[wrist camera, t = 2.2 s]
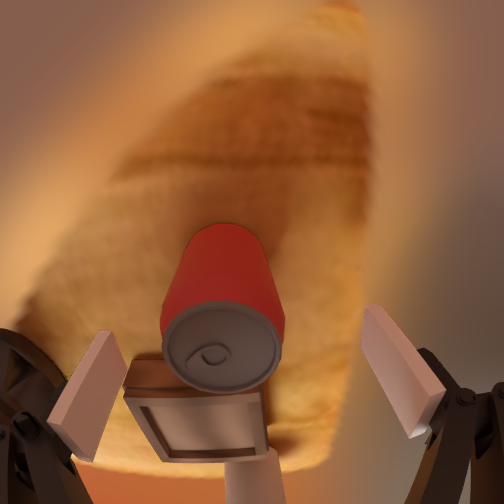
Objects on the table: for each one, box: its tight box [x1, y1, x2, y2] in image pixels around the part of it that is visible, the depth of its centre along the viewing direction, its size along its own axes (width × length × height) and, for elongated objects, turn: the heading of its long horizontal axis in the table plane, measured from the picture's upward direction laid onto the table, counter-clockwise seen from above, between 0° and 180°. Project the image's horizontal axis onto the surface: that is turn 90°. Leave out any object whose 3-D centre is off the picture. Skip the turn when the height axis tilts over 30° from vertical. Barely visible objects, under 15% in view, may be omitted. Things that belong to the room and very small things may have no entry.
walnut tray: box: [122, 359, 269, 463], centre depth 27 cm, size 13×13×5 cm
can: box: [225, 446, 286, 504], centre depth 28 cm, size 8×8×12 cm
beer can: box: [160, 223, 285, 394], centre depth 18 cm, size 7×7×12 cm
